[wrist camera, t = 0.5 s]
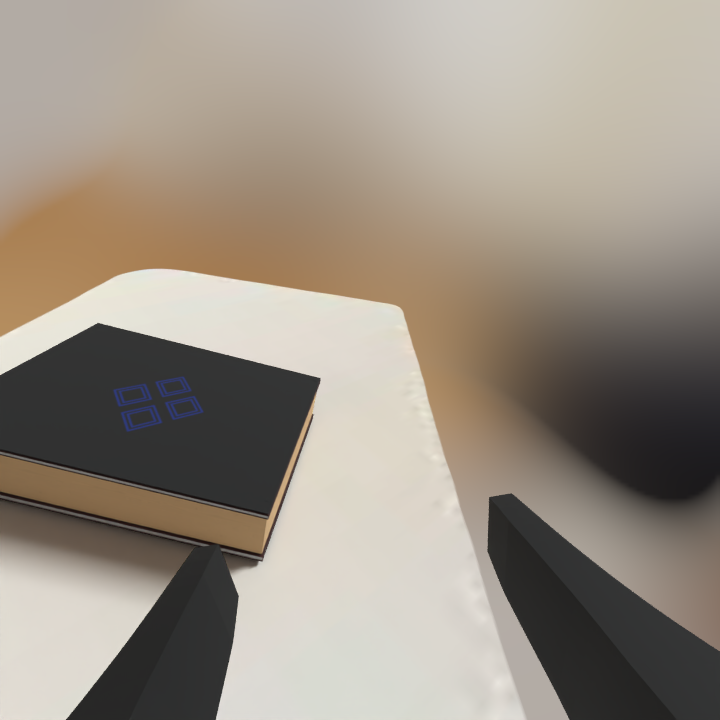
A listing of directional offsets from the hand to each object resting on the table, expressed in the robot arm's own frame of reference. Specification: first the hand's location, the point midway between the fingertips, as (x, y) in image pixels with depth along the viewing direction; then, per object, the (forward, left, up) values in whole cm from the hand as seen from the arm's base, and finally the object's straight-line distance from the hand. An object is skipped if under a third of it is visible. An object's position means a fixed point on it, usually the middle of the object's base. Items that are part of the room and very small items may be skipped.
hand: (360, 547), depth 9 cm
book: (+18, +17, -20) cm, 32 cm away
